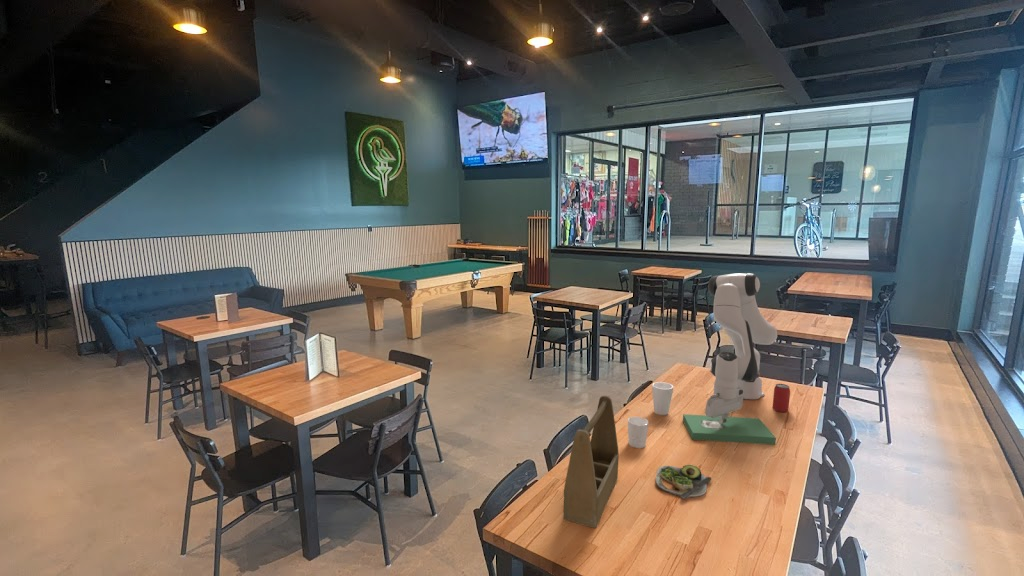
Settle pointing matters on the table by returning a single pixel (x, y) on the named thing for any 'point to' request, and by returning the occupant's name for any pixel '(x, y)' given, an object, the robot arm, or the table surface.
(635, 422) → the white cup
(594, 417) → the caddy
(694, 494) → the avocado toast plate
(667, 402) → the foam cup
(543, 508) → the table surface
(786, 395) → the beer can
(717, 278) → the robot arm
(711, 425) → the ball
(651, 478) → the table surface
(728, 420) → the green rectangular slab
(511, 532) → the table surface
